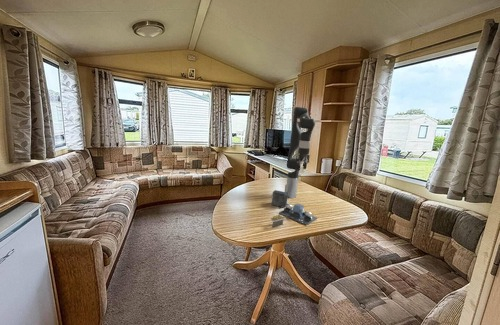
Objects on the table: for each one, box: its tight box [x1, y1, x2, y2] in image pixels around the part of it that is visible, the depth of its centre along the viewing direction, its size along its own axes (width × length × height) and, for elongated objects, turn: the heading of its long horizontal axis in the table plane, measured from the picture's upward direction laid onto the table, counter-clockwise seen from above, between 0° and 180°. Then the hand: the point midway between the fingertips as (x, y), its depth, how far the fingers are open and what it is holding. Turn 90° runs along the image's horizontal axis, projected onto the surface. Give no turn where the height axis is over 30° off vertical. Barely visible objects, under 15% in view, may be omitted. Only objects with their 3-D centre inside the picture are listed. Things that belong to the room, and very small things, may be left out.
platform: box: [270, 214, 286, 228], centre depth 132 cm, size 12×18×7 cm, turn 121°
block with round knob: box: [293, 203, 305, 216], centre depth 146 cm, size 7×4×7 cm, turn 45°
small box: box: [271, 189, 288, 209], centre depth 163 cm, size 11×6×10 cm, turn 65°
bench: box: [278, 203, 318, 226], centre depth 146 cm, size 21×14×6 cm, turn 45°
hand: (301, 169), depth 154 cm, fingers open, 8 cm apart
